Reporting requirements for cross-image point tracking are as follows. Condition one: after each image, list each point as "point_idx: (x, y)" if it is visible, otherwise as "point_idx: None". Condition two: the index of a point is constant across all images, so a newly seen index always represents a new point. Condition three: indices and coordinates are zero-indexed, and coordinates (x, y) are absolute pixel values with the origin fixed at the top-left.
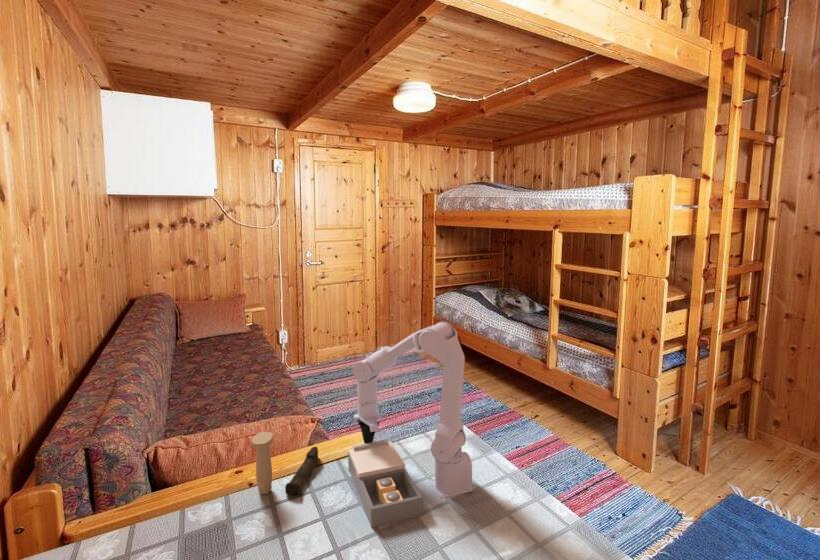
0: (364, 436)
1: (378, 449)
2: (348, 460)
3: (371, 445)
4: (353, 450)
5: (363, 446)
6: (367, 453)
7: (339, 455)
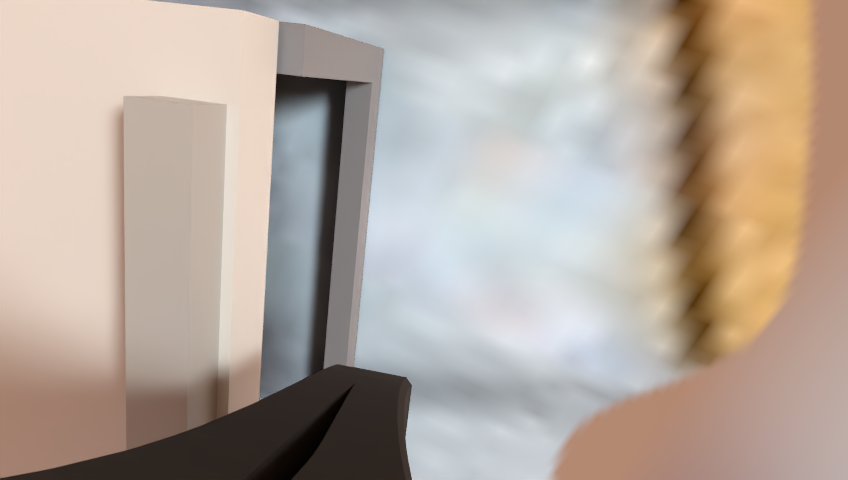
0: (203, 435)
1: None
2: (345, 37)
3: (136, 425)
4: (171, 91)
5: (129, 289)
6: (9, 274)
7: (768, 39)
